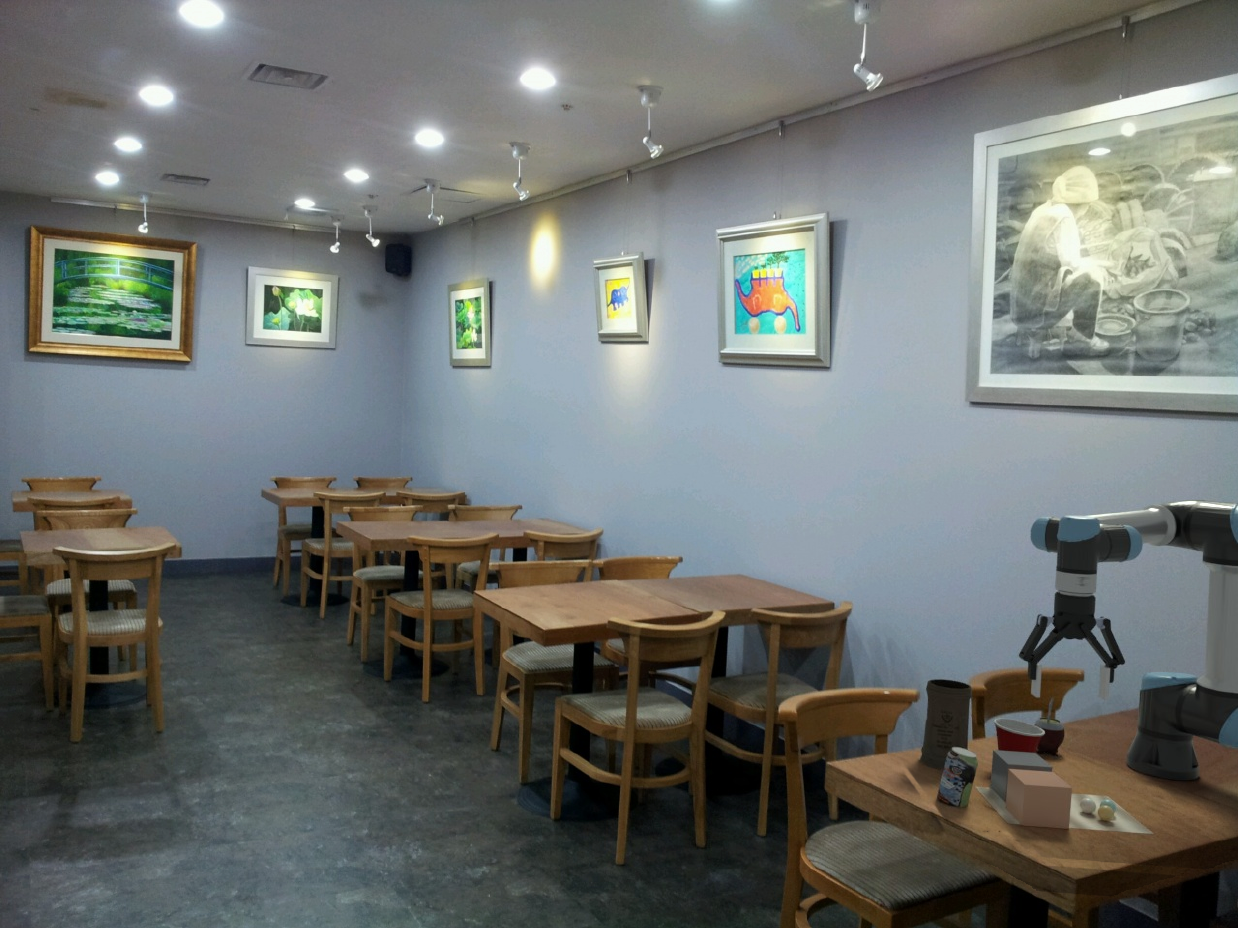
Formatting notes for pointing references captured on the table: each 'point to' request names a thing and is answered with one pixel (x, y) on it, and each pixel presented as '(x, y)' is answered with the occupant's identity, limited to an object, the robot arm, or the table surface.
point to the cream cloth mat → (1077, 814)
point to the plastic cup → (1017, 735)
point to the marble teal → (1108, 804)
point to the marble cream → (1087, 805)
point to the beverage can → (957, 777)
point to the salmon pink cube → (1038, 798)
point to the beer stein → (945, 720)
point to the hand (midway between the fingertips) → (1069, 697)
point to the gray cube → (1013, 767)
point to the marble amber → (1105, 813)
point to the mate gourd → (1050, 734)
